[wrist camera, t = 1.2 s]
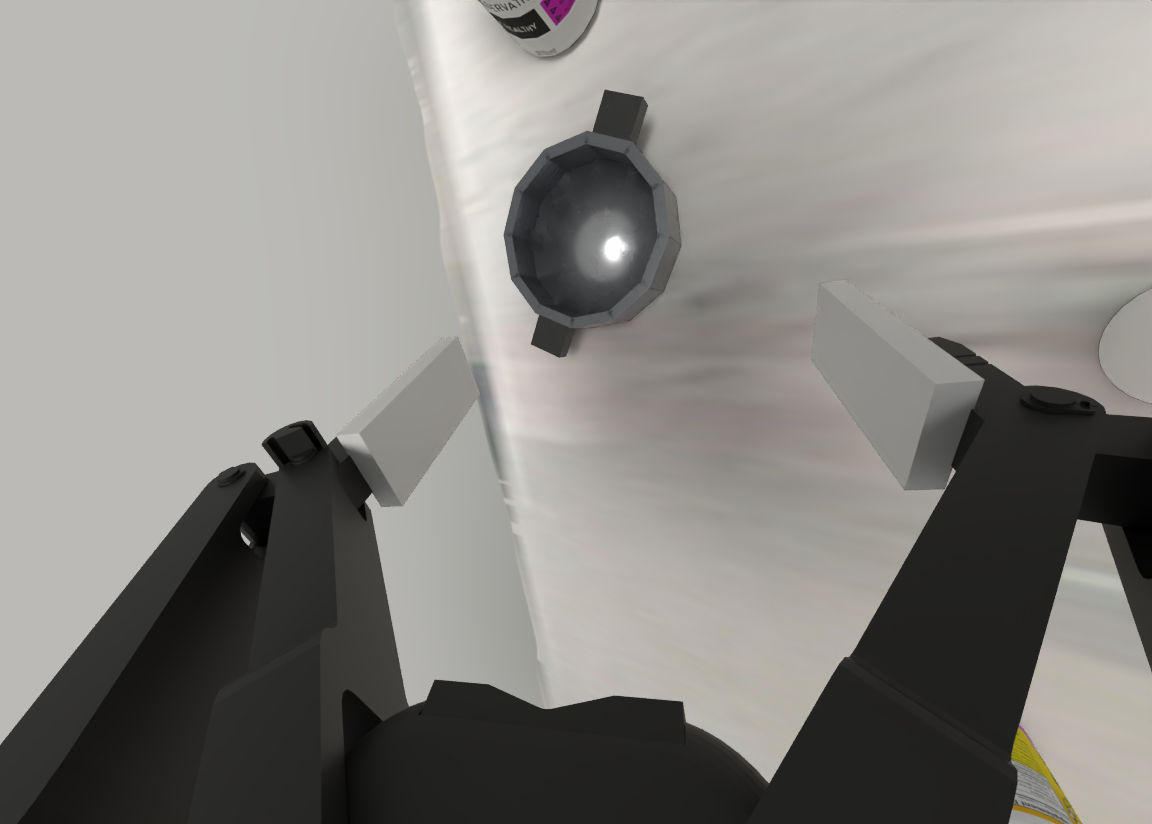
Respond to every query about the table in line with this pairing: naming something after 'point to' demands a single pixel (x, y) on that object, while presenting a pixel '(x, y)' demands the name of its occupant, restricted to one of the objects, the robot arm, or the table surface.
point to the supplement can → (543, 22)
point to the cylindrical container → (1130, 348)
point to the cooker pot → (592, 228)
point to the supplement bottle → (1037, 788)
